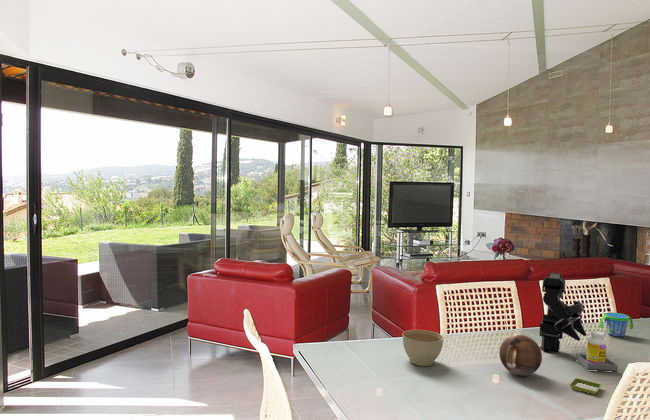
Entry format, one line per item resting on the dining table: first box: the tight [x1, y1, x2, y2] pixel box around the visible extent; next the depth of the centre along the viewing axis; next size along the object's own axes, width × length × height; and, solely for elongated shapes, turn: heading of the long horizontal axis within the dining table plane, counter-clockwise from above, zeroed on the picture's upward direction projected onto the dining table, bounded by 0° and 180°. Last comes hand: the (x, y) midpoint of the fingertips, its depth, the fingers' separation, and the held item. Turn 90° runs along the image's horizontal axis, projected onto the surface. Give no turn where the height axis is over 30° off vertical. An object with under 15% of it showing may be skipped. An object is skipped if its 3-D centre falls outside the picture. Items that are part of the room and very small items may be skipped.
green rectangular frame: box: [569, 377, 602, 395], centre depth 173 cm, size 9×9×2 cm
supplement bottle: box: [586, 330, 607, 364], centre depth 195 cm, size 7×7×13 cm
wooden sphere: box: [498, 334, 543, 377], centre depth 184 cm, size 15×15×15 cm
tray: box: [575, 353, 619, 373], centre depth 195 cm, size 11×11×3 cm
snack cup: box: [599, 312, 634, 338], centre depth 239 cm, size 16×10×10 cm
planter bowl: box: [402, 329, 444, 367], centre depth 194 cm, size 16×16×11 cm
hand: (582, 338), depth 199 cm, fingers open, 9 cm apart
